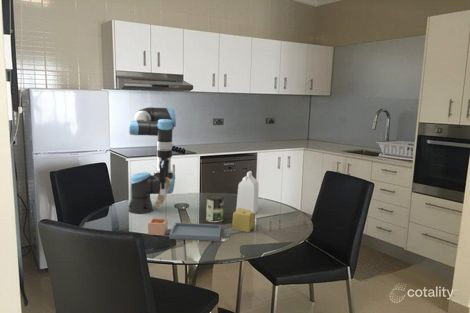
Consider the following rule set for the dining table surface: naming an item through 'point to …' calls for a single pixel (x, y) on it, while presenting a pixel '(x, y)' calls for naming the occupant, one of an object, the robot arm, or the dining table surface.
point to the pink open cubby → (157, 226)
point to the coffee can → (214, 208)
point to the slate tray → (195, 231)
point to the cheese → (243, 220)
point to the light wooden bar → (162, 197)
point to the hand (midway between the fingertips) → (163, 193)
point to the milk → (248, 193)
